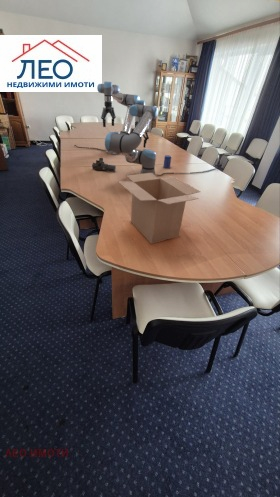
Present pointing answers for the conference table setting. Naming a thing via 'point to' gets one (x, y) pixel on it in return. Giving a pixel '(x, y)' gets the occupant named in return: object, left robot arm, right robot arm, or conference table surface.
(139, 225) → the box
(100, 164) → the laser sight
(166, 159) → the canister
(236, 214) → the conference table surface
